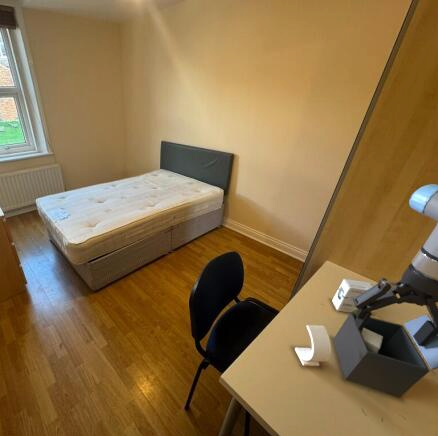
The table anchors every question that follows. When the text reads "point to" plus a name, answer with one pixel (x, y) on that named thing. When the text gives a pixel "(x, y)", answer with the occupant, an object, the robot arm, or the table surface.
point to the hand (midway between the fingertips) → (386, 333)
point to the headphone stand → (315, 347)
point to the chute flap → (433, 350)
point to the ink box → (349, 294)
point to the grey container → (379, 357)
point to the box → (372, 340)
